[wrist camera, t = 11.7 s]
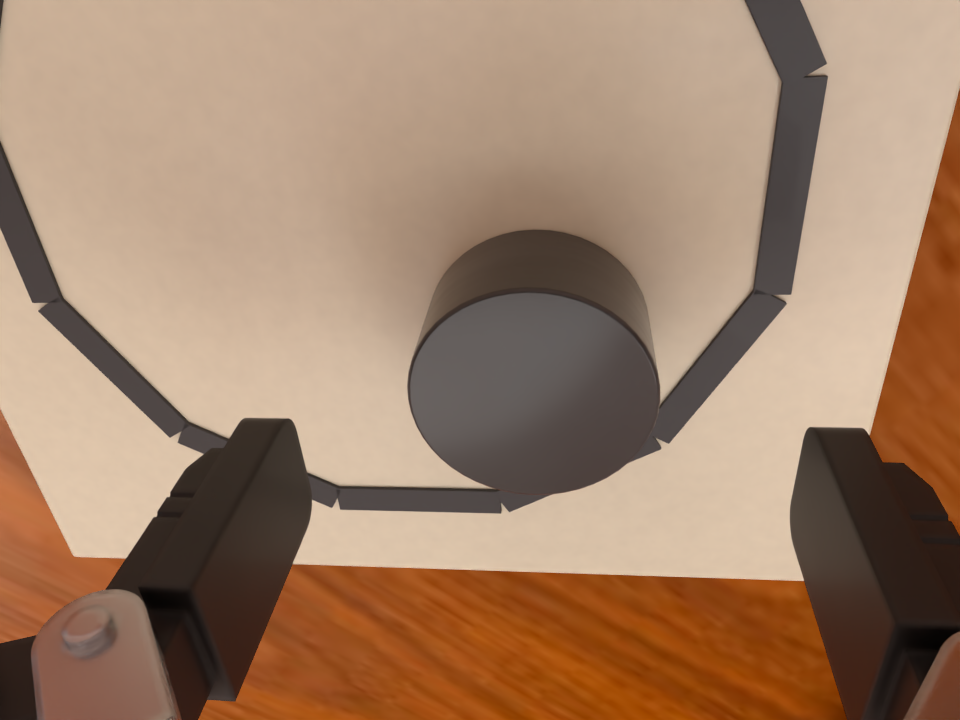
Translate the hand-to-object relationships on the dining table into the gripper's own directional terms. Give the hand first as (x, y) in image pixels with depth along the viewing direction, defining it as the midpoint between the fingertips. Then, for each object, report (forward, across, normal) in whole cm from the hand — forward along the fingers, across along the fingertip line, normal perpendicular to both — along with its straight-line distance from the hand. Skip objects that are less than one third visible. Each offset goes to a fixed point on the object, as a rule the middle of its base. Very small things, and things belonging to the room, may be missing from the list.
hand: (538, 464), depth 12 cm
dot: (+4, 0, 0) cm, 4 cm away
